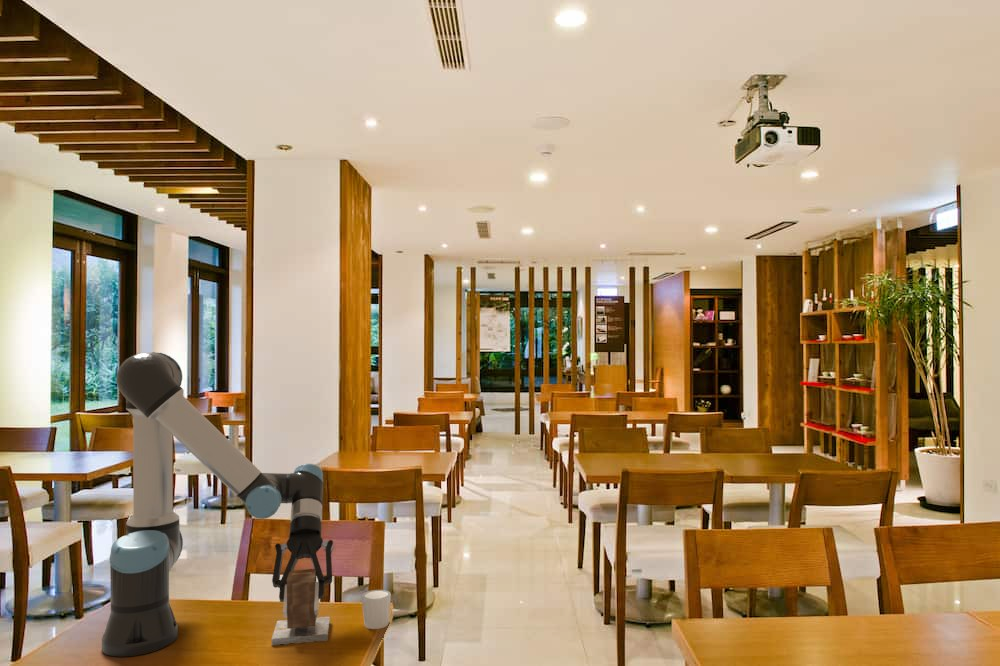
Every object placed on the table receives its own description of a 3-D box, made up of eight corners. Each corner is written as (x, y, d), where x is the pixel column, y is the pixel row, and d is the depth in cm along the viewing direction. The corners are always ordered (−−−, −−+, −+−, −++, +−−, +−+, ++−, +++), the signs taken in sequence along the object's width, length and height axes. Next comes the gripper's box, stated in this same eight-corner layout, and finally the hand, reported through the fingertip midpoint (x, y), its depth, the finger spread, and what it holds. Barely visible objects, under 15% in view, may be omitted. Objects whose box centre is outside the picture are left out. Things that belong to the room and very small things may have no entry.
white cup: (384, 631, 159) (384, 600, 159) (357, 629, 160) (356, 598, 160) (395, 619, 165) (395, 590, 166) (368, 617, 167) (368, 588, 167)
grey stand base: (271, 645, 152) (271, 616, 152) (277, 627, 161) (277, 599, 162) (327, 640, 154) (327, 611, 154) (329, 622, 164) (329, 595, 164)
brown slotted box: (287, 628, 154) (286, 578, 154) (290, 618, 160) (289, 570, 160) (315, 626, 155) (314, 576, 156) (316, 615, 161) (316, 567, 161)
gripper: (345, 527, 175) (344, 616, 159) (267, 532, 171) (258, 624, 155) (344, 511, 170) (343, 602, 153) (264, 516, 166) (254, 610, 150)
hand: (300, 613), depth 154 cm, fingers closed on brown slotted box, 6 cm apart
